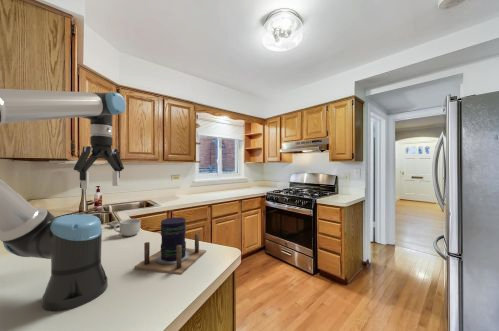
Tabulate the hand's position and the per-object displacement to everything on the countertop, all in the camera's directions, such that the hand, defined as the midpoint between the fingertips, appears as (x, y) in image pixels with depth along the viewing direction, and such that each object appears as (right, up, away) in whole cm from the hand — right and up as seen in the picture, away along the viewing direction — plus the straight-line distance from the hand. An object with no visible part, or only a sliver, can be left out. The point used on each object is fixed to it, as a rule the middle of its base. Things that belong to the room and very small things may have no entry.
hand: (101, 187), depth 85 cm
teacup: (-9, -31, +33) cm, 46 cm away
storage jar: (+30, -29, 0) cm, 42 cm away
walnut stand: (+30, -31, 0) cm, 43 cm away
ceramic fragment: (-24, -31, +49) cm, 62 cm away
